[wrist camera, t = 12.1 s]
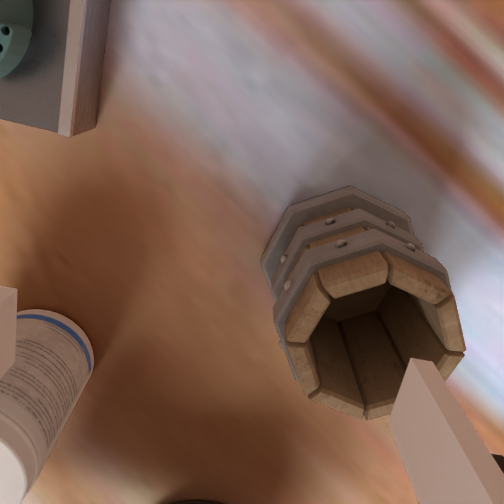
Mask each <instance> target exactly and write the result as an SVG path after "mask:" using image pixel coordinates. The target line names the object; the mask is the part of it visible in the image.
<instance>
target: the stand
mask: <svg viewBox="0 0 504 504" xmlns="http://www.w3.org/2000/svg"><path fill="white" fill-rule="evenodd" d="M32 2H33V25H32V30H31V32H32V35H31V38H30V42H29V45H28V48H27V50H26V52H25V54H24V56H23V58H22V60H21V61H20V62H19V64H18V65H17V66H16V67H15V68H14V69H13V70H12V71H11V72H10V73H9V74H7V75H6V76H4V77H2V78H1V79H0V119H3V120H7V121H11V122H15V123H20V124H24V125H28V126H32V127H36V128H41V129H45V130H49V131H53V132H57V133H58V135H62V136H66V137H72V136H75V135H77V134H80V133H83V132H86V131H88V130H91V129H94V128H95V126H96V118H97V110H98V101H99V93H100V85H101V77H102V68H103V60H104V52H105V43H106V35H107V27H108V19H109V10H110V2H111V0H32Z"/></svg>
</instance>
